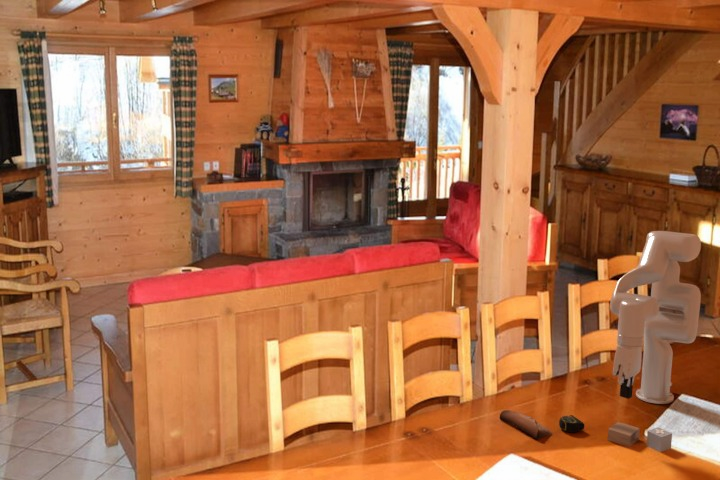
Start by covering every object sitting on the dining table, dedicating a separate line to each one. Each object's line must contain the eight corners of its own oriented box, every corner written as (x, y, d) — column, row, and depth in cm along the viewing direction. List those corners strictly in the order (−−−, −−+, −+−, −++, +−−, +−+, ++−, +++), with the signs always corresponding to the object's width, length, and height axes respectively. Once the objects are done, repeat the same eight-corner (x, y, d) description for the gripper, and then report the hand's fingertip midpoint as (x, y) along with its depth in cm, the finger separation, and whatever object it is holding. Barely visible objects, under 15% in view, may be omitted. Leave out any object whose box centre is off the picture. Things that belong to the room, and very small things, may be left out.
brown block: (617, 433, 242) (618, 421, 241) (638, 440, 237) (639, 428, 237) (607, 440, 237) (608, 428, 236) (629, 447, 232) (629, 435, 232)
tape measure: (585, 432, 242) (585, 422, 242) (566, 435, 240) (567, 424, 240) (572, 424, 249) (573, 413, 248) (554, 426, 247) (555, 416, 246)
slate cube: (657, 442, 236) (658, 426, 235) (670, 448, 232) (672, 432, 231) (646, 445, 233) (647, 430, 232) (660, 452, 229) (661, 436, 228)
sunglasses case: (556, 434, 241) (549, 419, 238) (542, 449, 239) (534, 434, 236) (517, 413, 256) (510, 400, 253) (503, 427, 254) (496, 414, 251)
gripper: (629, 332, 238) (625, 387, 242) (607, 342, 228) (602, 400, 231) (652, 337, 233) (648, 393, 236) (630, 348, 223) (626, 407, 226)
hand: (625, 396), depth 234 cm, fingers closed
